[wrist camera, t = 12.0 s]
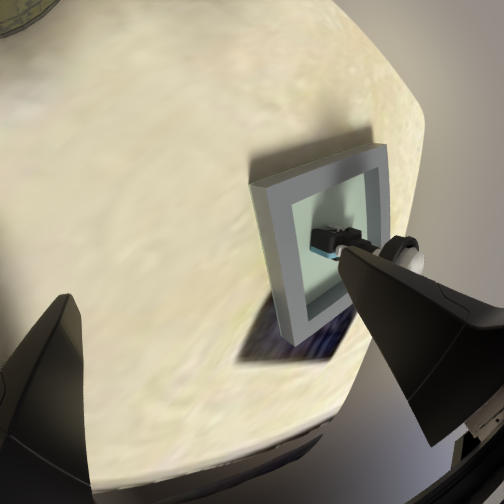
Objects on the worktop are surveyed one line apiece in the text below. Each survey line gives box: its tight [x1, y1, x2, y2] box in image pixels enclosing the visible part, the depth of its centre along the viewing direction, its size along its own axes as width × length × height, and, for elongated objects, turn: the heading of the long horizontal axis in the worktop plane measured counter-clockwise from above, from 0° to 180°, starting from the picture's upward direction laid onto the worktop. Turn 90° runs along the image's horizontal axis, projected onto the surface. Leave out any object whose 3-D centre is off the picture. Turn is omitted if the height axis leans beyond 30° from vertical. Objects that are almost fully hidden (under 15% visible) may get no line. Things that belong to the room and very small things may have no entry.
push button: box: [310, 224, 424, 275], centre depth 25 cm, size 7×5×10 cm
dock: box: [249, 143, 390, 346], centre depth 29 cm, size 16×16×3 cm
